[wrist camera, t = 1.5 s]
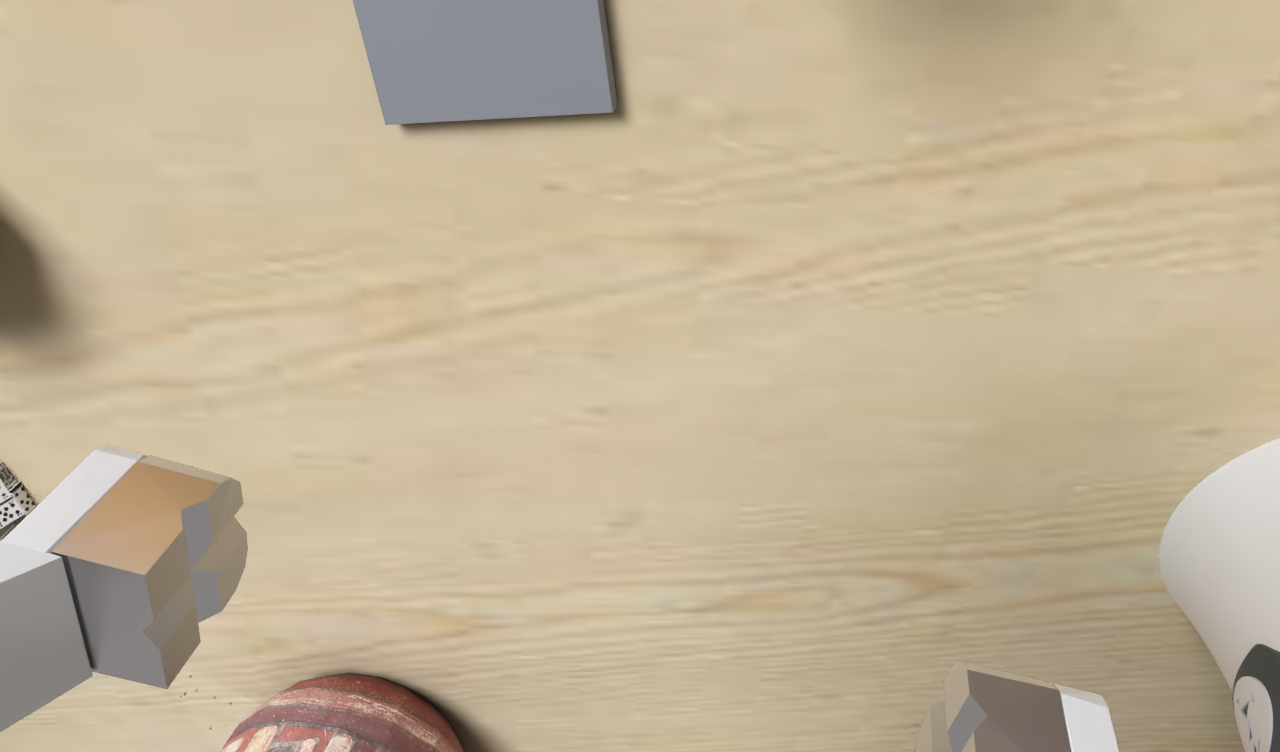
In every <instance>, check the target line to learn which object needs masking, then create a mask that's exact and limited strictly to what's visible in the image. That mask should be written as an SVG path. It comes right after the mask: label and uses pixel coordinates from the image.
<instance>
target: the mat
mask: <svg viewBox="0 0 1280 752" xmlns="http://www.w3.org/2000/svg"><path fill="white" fill-rule="evenodd" d="M353 3H354V7H355V11H356V14H357V18H358V22H359V26H360V30H361V33H362V37H363V41H364V45H365V48H366V52H367V56H368V60H369V64H370V67H371V71H372V75H373V79H374V83H375V86H376V90H377V94H378V98H379V102H380V105H381V109H382V113H383V117H384V121H385V124H386V125H391V124H410V123H428V122H447V121H465V120H484V119H502V118H520V117H539V116H557V115H576V114H594V113H612V112H613V111H614V109H615V108H616V106H617V105H618V103H617V96H616V88H615V81H614V73H613V66H612V58H611V51H610V43H609V35H608V28H607V20H606V13H605V5H604V0H353Z"/></svg>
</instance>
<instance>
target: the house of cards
mask: <svg viewBox="0 0 1280 752" xmlns="http://www.w3.org/2000/svg"><path fill="white" fill-rule="evenodd" d="M20 482H21V481H18V482H17V481H16V479H15V478H14V477H13V475H12V474H11V472H10V471H9V470H8V468H7V467H6V466H5V464H4V463H3V461H2V460H0V539H1V538H2V537H3V536H4V535H5V534H6V533H7V532H8V531H10V530H11V529H12V528H13V527H14V526H15V523H14V522H13V521H14V520H16V519H18V518H19V517H21V516H22V515H25V516H27V515H28V514H29V513H30V512H31V511H32V510H33V509H34V508H35V507H36V505H35V504H34V502H33V501H32V500H31V498H30V497H29V495H28V494H27V493H26V491H25V490H24V488H23V487H22V486H23V485H17V484H18V483H20Z"/></svg>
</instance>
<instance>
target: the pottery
mask: <svg viewBox="0 0 1280 752" xmlns="http://www.w3.org/2000/svg"><path fill="white" fill-rule="evenodd" d="M221 752H464V751H463V749H462V747H461V745H460V743H459V741H458V739H457V737H456V735H455V733H454V731H453V729H452V728H451V726H450V724H449V722H448V720H447V719H446V718H445V717H444V716H443V715H442V714H441V713H440V712H439V711H438V710H437V709H436V708H435V707H434V706H433V705H432V704H431V703H429V702H428V701H426V700H425V699H423V698H421V697H420V696H418V695H417V694H415V693H414V692H412V691H411V690H409V689H407V688H405V687H403V686H400V685H398V684H395V683H392V682H390V681H387V680H384V679H382V678H379V677H372V676H365V675H358V674H351V673H346V674H340V675H333V676H327V677H321V678H315V679H310V680H304V681H300V682H298V683H296V684H295V685H293V686H291V687H289V688H288V689H286V690H284V691H283V692H281V693H279V694H278V695H276V696H274V697H273V698H271V699H270V700H268V701H267V702H265V703H264V704H262V705H260V706H259V707H257V708H256V709H254V710H253V711H252V712H251V713H250V714H249V715H247V716H246V717H245V718H244V719H243V720H242V721H241V722H240V723H239V725H238V726H237V728H236V729H235V731H234V732H233V733H232V735H231V736H230V738H229V739H228V741H227V742H226V744H225V745H224V747H223V749H222V750H221Z"/></svg>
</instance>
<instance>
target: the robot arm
mask: <svg viewBox="0 0 1280 752" xmlns="http://www.w3.org/2000/svg"><path fill="white" fill-rule="evenodd" d="M242 505H243V498H242V491H241V485H240V482H239V481H237V480H235V479H233V478H230V477H227V476H223V475H220V474H216V473H212V472H209V471H205V470H202V469H198V468H195V467H191V466H187V465H184V464H180V463H177V462H173V461H170V460H166V459H162V458H159V457H155V456H152V455H146V454H142V453H139V452H135V451H131V450H128V449H124V448H120V447H117V446H113V445H107V446H104V447H102V448H99V449H97V450H95V451H93V452H92V453H91V454H90V455H89V456H88V457H87V458H86V459H85V460H84V461H83V462H82V463H81V464H80V465H79V466H78V467H77V468H76V469H75V470H74V471H73V472H72V473H70V474H69V475H68V476H67V477H66V478H65V479H64V480H63V481H62V482H61V483H60V484H59V485H58V486H57V487H56V488H55V489H54V490H53V491H52V492H51V493H50V494H49V495H48V496H47V497H46V498H45V499H44V500H43V501H42V502H41V503H40V504H39V505H38V506H37V507H36V508H35V509H34V510H33V511H32V512H31V513H30V514H29V515H27V516H26V517H25V518H24V519H23V520H22V521H21V522H20V523H19V524H18V525H17V526H16V527H15V528H14V529H13V530H12V531H11V532H10V533H9V534H8V535H7V536H6V537H5V538H4V539H3V540H2V541H1V540H0V732H1V731H3V730H5V729H6V728H8V727H10V726H11V725H13V724H15V723H16V722H18V721H19V720H21V719H23V718H24V717H26V716H28V715H29V714H31V713H33V712H34V711H36V710H38V709H39V708H41V707H42V706H44V705H46V704H47V703H49V702H51V701H52V700H54V699H56V698H57V697H59V696H61V695H62V694H64V693H65V692H67V691H69V690H70V689H72V688H74V687H75V686H77V685H79V684H80V683H82V682H84V681H85V680H87V679H88V678H90V677H92V675H93V674H92V671H93V672H97V673H101V674H105V675H110V676H114V677H118V678H122V679H126V680H131V681H135V682H139V683H143V684H148V685H152V686H156V687H160V688H165V689H168V687H169V686H170V684H171V683H172V681H173V680H174V679H175V677H176V676H177V674H178V673H179V672H180V670H181V669H182V667H183V666H184V665H185V663H186V662H187V660H188V659H189V657H190V656H191V655H192V653H193V652H194V650H195V649H196V648H197V646H198V645H199V643H200V642H201V641H200V634H199V626H198V623H199V622H201V621H203V620H205V619H207V618H209V617H211V616H213V615H215V614H217V613H219V612H221V611H222V610H223V609H224V607H225V606H226V604H227V603H228V601H229V600H230V598H231V597H232V595H233V594H234V592H235V591H236V588H237V586H238V583H239V581H240V578H241V576H242V573H243V571H244V568H245V564H246V557H247V550H248V545H247V533H246V531H245V530H244V529H243V527H242V526H241V525H240V524H239V522H238V521H237V520H236V519H235V517H234V516H235V514H236V513H237V512H238V510H239V509H240V508H241V506H242ZM1159 568H1160V574H1161V577H1162V581H1163V583H1164V586H1165V588H1166V590H1167V592H1168V594H1169V595H1170V597H1171V598H1172V600H1173V601H1174V602H1175V604H1176V605H1177V606H1178V607H1179V608H1180V609H1181V611H1182V612H1183V613H1184V614H1185V615H1186V617H1187V618H1188V619H1189V621H1190V622H1191V623H1192V625H1193V626H1194V628H1195V629H1196V631H1197V632H1198V634H1199V635H1200V636H1201V638H1202V639H1203V641H1204V643H1205V644H1206V646H1207V648H1208V649H1209V651H1210V653H1211V654H1212V656H1213V658H1214V659H1215V661H1216V663H1217V665H1218V667H1219V668H1220V670H1221V672H1222V674H1223V676H1224V678H1225V680H1226V681H1227V683H1228V685H1229V687H1230V689H1231V692H1232V694H1233V706H1234V711H1235V717H1236V722H1237V726H1238V730H1239V734H1240V737H1241V741H1242V744H1243V747H1244V750H1245V752H1280V438H1278V439H1275V440H1273V441H1271V442H1269V443H1266V444H1264V445H1262V446H1259V447H1257V448H1255V449H1253V450H1251V451H1249V452H1247V453H1245V454H1243V455H1241V456H1239V457H1237V458H1235V459H1234V460H1232V461H1230V462H1228V463H1227V464H1225V465H1224V466H1222V467H1220V468H1219V469H1218V470H1216V471H1215V472H1213V473H1212V474H1210V475H1209V476H1208V477H1206V478H1205V479H1204V480H1203V481H1201V482H1200V483H1199V484H1198V485H1197V486H1196V487H1195V488H1194V489H1192V490H1191V491H1190V492H1189V493H1188V495H1187V496H1186V497H1185V498H1184V499H1183V500H1182V501H1181V503H1180V504H1179V505H1178V507H1177V508H1176V509H1175V511H1174V512H1173V514H1172V516H1171V517H1170V519H1169V521H1168V523H1167V525H1166V527H1165V530H1164V532H1163V535H1162V539H1161V542H1160V549H1159ZM944 694H945V700H944V701H942V702H940V703H938V704H935V705H933V706H931V707H930V708H929V710H928V712H927V714H926V716H925V718H924V721H923V723H922V725H921V727H920V731H919V735H918V739H917V743H916V748H915V752H1119V748H1118V744H1117V740H1116V736H1115V732H1114V728H1113V724H1112V720H1111V716H1110V712H1109V707H1108V704H1107V703H1106V701H1105V700H1104V699H1103V697H1102V696H1101V695H1099V694H1095V693H1090V692H1086V691H1082V690H1078V689H1074V688H1070V687H1066V686H1062V685H1058V684H1050V683H1049V682H1047V681H1043V680H1039V679H1035V678H1031V677H1026V676H1022V675H1018V674H1014V673H1010V672H1006V671H1001V670H997V669H993V668H989V667H985V666H981V665H977V664H972V663H968V662H964V661H958V662H957V663H956V664H955V665H953V666H952V667H951V669H950V671H949V673H948V675H947V676H946V678H945V680H944Z"/></svg>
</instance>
